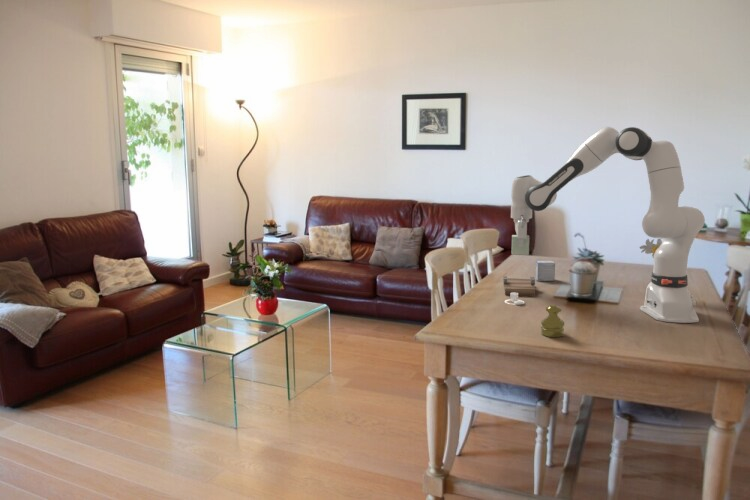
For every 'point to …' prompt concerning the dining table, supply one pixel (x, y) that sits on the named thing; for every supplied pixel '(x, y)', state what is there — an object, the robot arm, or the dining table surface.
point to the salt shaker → (552, 323)
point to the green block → (520, 250)
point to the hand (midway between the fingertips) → (520, 245)
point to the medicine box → (545, 271)
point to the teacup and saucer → (514, 299)
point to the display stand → (519, 286)
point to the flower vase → (651, 248)
